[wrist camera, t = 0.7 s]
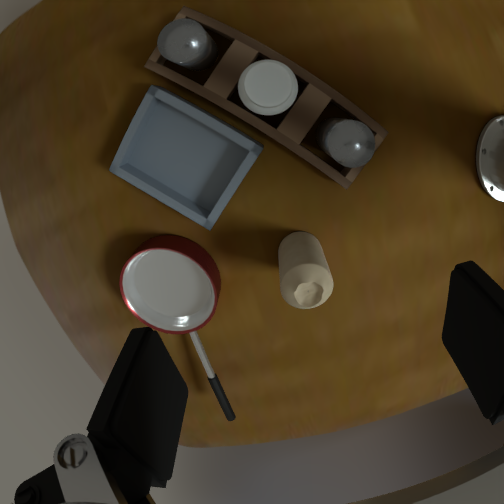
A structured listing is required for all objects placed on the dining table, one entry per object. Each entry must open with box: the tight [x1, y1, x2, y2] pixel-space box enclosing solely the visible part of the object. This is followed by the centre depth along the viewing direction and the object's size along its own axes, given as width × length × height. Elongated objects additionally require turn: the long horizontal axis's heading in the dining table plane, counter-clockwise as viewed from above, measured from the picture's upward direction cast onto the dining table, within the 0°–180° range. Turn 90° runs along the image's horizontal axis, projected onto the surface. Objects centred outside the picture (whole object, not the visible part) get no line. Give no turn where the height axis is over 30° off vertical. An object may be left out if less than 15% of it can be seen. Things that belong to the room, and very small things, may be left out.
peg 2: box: [315, 117, 375, 168], centre depth 29 cm, size 4×4×8 cm
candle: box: [278, 231, 333, 309], centre depth 35 cm, size 6×6×10 cm
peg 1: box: [157, 18, 219, 71], centre depth 26 cm, size 4×4×8 cm
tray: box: [109, 85, 264, 230], centre depth 33 cm, size 11×14×3 cm
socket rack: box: [144, 6, 388, 189], centre depth 30 cm, size 8×26×2 cm, turn 57°
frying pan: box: [119, 235, 236, 421], centre depth 43 cm, size 32×13×6 cm, turn 22°
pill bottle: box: [238, 60, 298, 115], centre depth 27 cm, size 5×5×10 cm
